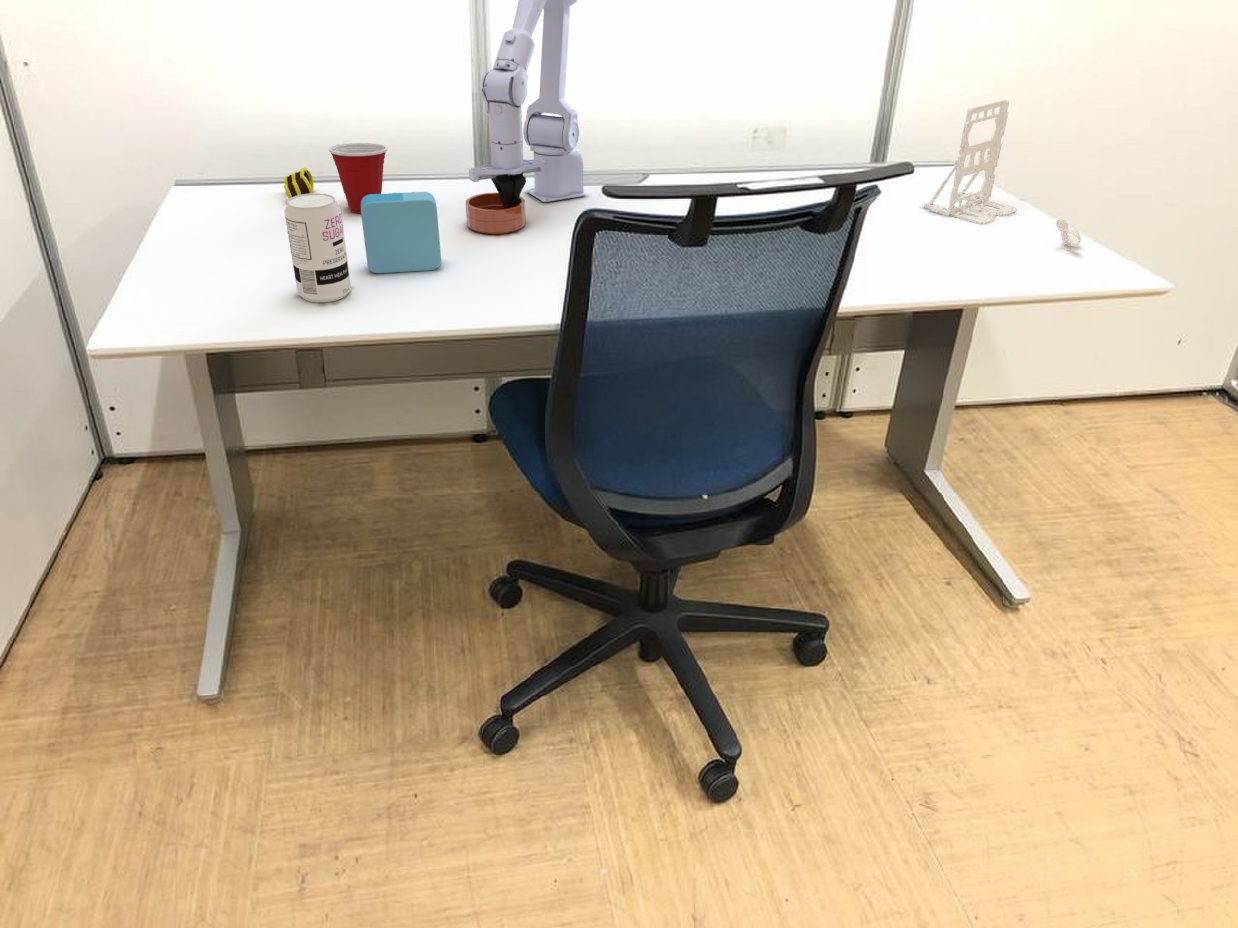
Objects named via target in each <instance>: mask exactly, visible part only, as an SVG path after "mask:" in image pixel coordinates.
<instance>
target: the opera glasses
mask: <svg viewBox="0 0 1238 928" xmlns="http://www.w3.org/2000/svg"><path fill="white" fill-rule="evenodd" d="M283 181H284V185H283V187H284V190H285V193H286V196H287V198H288V200H289V199H290V198H292V197H294V196H298V195H302V194H310V193H315V192H314V186H315V185H314V178H313V175H312V173H311V172H310V170H309V169H308V168H307V167H302V168H301V169H300V170H299V171H295V172H292V174H288V175H284V177H283Z"/></svg>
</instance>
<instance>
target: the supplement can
mask: <svg viewBox="0 0 1238 928" xmlns="http://www.w3.org/2000/svg"><path fill="white" fill-rule="evenodd" d="M284 219H285V225H286V231H287V236H288V243H289V248H290V255H291V260H292V267H293V273H294V278H295V285H296V292H297V294H298V295H299V296H300V297H301V298H303V299H304V300H305V301H308V302H311V303H331V302H335V301H338V300H341V299H343V298H345V297H347V295H348V294H349V292H350V291H351V290H352V284H351V277H350V275H351V274H350V269H349V268H350V267H349V262H348V261H349V260H348V253H347V245H346V240H345V239H346V238H345V231H344V223H343V218H342V210H341V206H340V205H339V203H338V201H336V197H335V196H333V195H331V194H329V193H320V192H316V193H315V192H314V193H310V194H302V195H298V196H294V197H292V198H290V199H289V198H288V199H287V201H286V206H285V208H284Z"/></svg>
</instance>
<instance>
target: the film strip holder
mask: <svg viewBox="0 0 1238 928" xmlns="http://www.w3.org/2000/svg"><path fill="white" fill-rule="evenodd" d="M1009 104H1010V100H1008V99H1003V100H998V101H995V102H991V103H987V104H983V105H978V106H975V107H971V108H968V109H967V113H966V116H965V122H964V125H963V130H962V134H961V135H962V136H961V139H960V140H961V141H960V146H959V154H958V155H957V159H956V160H955V161H954V166H953V167H952V169H951V171H950V172H949V173H948V175H947V177H945V178H944V180H943V182H942V183H941V184H940V185H939V188H938V189H937V190H936V192H935V193H934V195H933V196H932V198H931V199H930V201H929V202H926V203H924V206H923V208H924V209H927V210H930V212H932V213H935V214H939V215H943V216H946V217H954V218H956V219H960V220H964V221H968V222H970V223H974V224H978V225H989V224H993V223H994V222H996V219H997V218H996V216H997V217H1004V216H1006V217H1008V216H1013V215H1015V214H1018V212H1017V208H1015V207H1012V206H1008V205H1005V204H1003V203H999V202H996V201H992V200H990V197H991V196H992V192H993V187H994V182H995V179H996V174H995V170H996V168H997V167H998V164H999V159H1000V154H1001V150H1002V145H1003V144H1002V137H1004V135H1005V131H1006V126H1007V122H1008V116H1009V112H1008V109H1009ZM997 108H999V109H998V113H995V110H996V109H997ZM990 110H991V114H990V115H988V113H989V111H990ZM982 112H983V115H982V116H983V117H980V118H979V116H980V113H982ZM975 114H976V115H975ZM973 115H975V119H972V118H973ZM991 119H995V120H994V121H995V129H994V132H993V134H992V136H991V137H990V138H991V139H989V140H986V141H982V142H979V143H975V144H971V145H970V143H969V134H970V132H971V130H972V128H973V126H974V124H977V123H980V122H984V121H988V120H991ZM988 149H989V150H988ZM986 151H987V155H986V157H985V154H986ZM979 152H980V153H979ZM977 153H979V157H978V160H977V163H976V164H975V158H976V155H977ZM967 156H969V161H968V163H967V166H966V167H965V161H966V159H967V158H966V157H967ZM983 171H984V181H983V182H982V185H981V188H980V189H979V190H977V191H975V192H972V191H971V192H969V193H966V192H967V190H968V189H969V188H970V186H971V185H972V184H973V182H974V180H975V179H976V178H977V176H978V175H979V173H980V172H983ZM953 174H954V178H953V185H952V188H951V193H950V198H949V204H948V210H947V208H946V206H944V205H940V204H934V203H935V201H936V200H937V198H938V197H939V195H940V194H941V193H942V191H943V190H944V188H945V187H946V185H947V184H948V182H949V180H950V179H951V177H952V175H953ZM966 176H971V177H970V179H969V180H968V182H967V183H966V184H965V186H964V188H963V189H962V190H961V191H959V187H960V185H961V183H962V180H963V179H964V178H965V177H966ZM963 200H965V203H964V204H962V203H963ZM957 202H958V206H956V203H957ZM985 206H986V207H985ZM988 207H989V208H988ZM990 207H992V208H990ZM993 208H994V209H993ZM996 209H997V210H996ZM963 214H964V215H963ZM966 215H970V216H972V217H969V216H966ZM973 217H974V218H973Z"/></svg>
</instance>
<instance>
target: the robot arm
mask: <svg viewBox="0 0 1238 928" xmlns="http://www.w3.org/2000/svg"><path fill="white" fill-rule="evenodd" d="M576 3H578V0H518V2H517V8H516V10H515V15H514V20H513V23H512V28H511V29H508V30H507V31H505V32H504V33H503V37H502V39H501V42H500V45H499V49H498V52H497V55H496V58H495V61H494V64H493V66H492V69H490V70H489V71H486V73H485V74H484V75H483V78H482V82H481V88H480V89H481V90H480V91H481V96H482V99H483V101H484V103H485V111H486V113H487V115H488V118H489V134H490V151H491V163H487V164H484V165H480V166H477V167H471V168H468V174H469V175H468V177H469V180H470V181H471V182H473V183H478V182H479V181H483V180H489V179H490V180H491V182H492V184H493V185H494V187H495V190H496V192H497V193H499V196H500V198H501V201H502V204H503V208H504V209H508V208H513V207H516V206H517V203H518V199H519V196H521V193H522V191H523V189H524V187H525V185H526V183H527V178H526V176H525V174H531V173H533V174H534V175H533V176H534V177H533V178H534V180H533V181H534V188H529V189H527V190H526V193H528V194H529V195H531V196H533V197H534V198H536V199H538V200H539V201H541V202H543V203H548V202H556V201H562V200H568V199H573V198H580V197H585V196H586V193H585V192H584V160H583V156H582V153H581V152H580V150H579V149H578V148H576V147H577V145H578V142H579V138H580V125H579V113H578V110H577V108H575V107H574V106H573V105H572V104H571V103H570V102H569V101H568V100H567V99H566V88H567V71H568V58H569V42H570V41H569V40H570V25H571V24H570V23H571V9H572V8H571V7H572V6H573V5H575V4H576ZM542 12H543V19H542V20H543V22H542V37H541V39H542V40H541V55H540V56H541V57H540V58H541V59H540V75H539V77H540V78H539V92H538V93H539V94H538V95H539V96H538V98H537V99H536V100H535V101H533V102H532V103H530V104H529V105H528V106H527V109H526V116H525V120H524V124H523V118H522V117H523V115H522V105H523V104H524V102H525V100H526V98H527V94H528V81H529V74H528V73H527V72H528V70H529V66H530V62H531V60H532V57H533V53H534V50H535V47H536V44H535V41H534V40H533V38H532V36H533V33H534V31H535V29H536V26H537V24H538V22H539V19H540V17H541V15H542ZM549 114H550V115H549ZM551 114H552V115H551ZM555 115H556V116H555ZM557 115H559V116H557ZM523 139H524V140H523ZM523 141H524V142H525V143H526V145H527V146H528V147H529V151H531V152H533V159H524V142H523Z"/></svg>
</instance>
